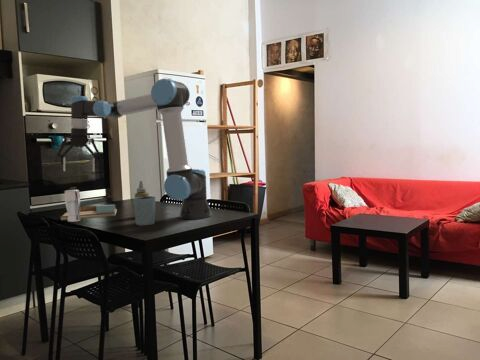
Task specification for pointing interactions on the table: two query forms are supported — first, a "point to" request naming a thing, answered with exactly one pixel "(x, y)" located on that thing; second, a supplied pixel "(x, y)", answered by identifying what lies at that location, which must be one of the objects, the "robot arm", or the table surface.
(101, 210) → the block
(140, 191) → the squeeze bottle
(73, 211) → the beer glass
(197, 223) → the table surface
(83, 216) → the board
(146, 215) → the drinking glass
